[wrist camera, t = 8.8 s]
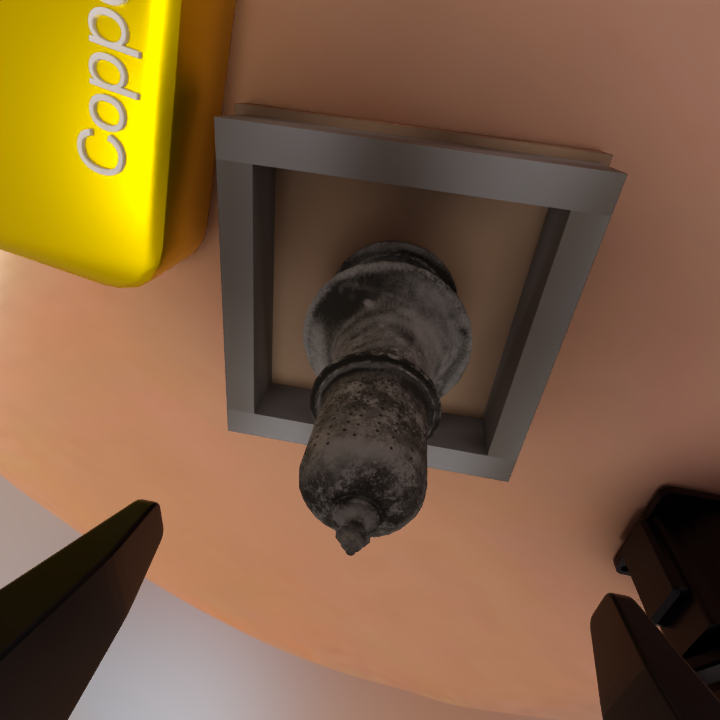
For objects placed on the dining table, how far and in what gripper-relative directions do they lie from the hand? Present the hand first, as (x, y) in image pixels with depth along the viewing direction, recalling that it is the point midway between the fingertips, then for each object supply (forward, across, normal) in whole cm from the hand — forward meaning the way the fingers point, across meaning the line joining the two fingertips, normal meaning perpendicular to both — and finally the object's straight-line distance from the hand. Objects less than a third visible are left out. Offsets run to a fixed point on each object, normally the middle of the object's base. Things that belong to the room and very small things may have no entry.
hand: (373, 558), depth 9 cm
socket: (+13, +1, -1) cm, 13 cm away
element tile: (+13, +16, -9) cm, 22 cm away
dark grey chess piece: (+12, +1, 0) cm, 12 cm away
